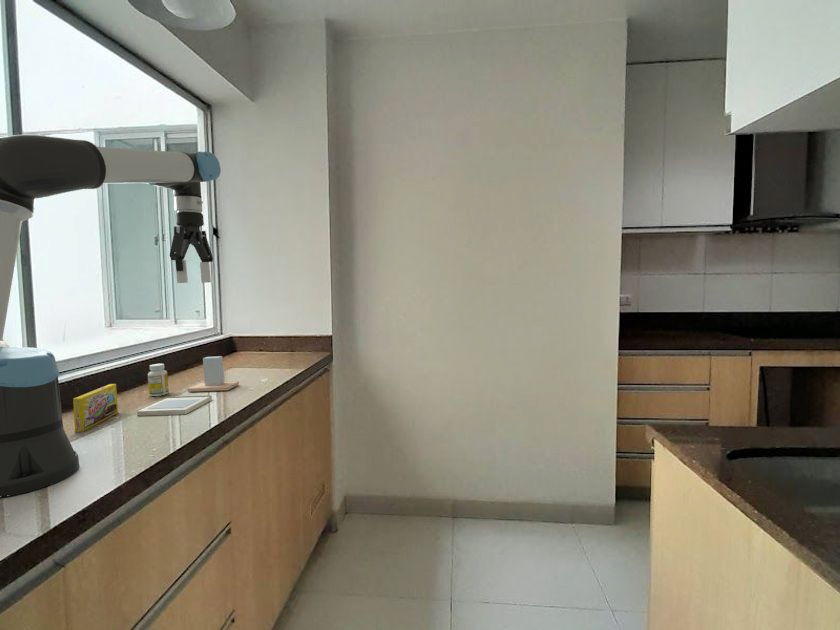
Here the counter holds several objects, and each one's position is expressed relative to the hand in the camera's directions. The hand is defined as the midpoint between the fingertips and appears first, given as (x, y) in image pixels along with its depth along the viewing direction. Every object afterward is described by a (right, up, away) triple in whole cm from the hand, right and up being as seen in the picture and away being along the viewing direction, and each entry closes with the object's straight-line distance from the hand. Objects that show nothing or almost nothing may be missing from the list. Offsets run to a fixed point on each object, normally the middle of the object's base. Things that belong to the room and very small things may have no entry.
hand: (195, 282), depth 137 cm
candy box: (-13, -38, -23) cm, 46 cm away
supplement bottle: (-13, -35, +4) cm, 38 cm away
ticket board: (+1, -36, -12) cm, 38 cm away
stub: (+2, -34, +9) cm, 35 cm away
